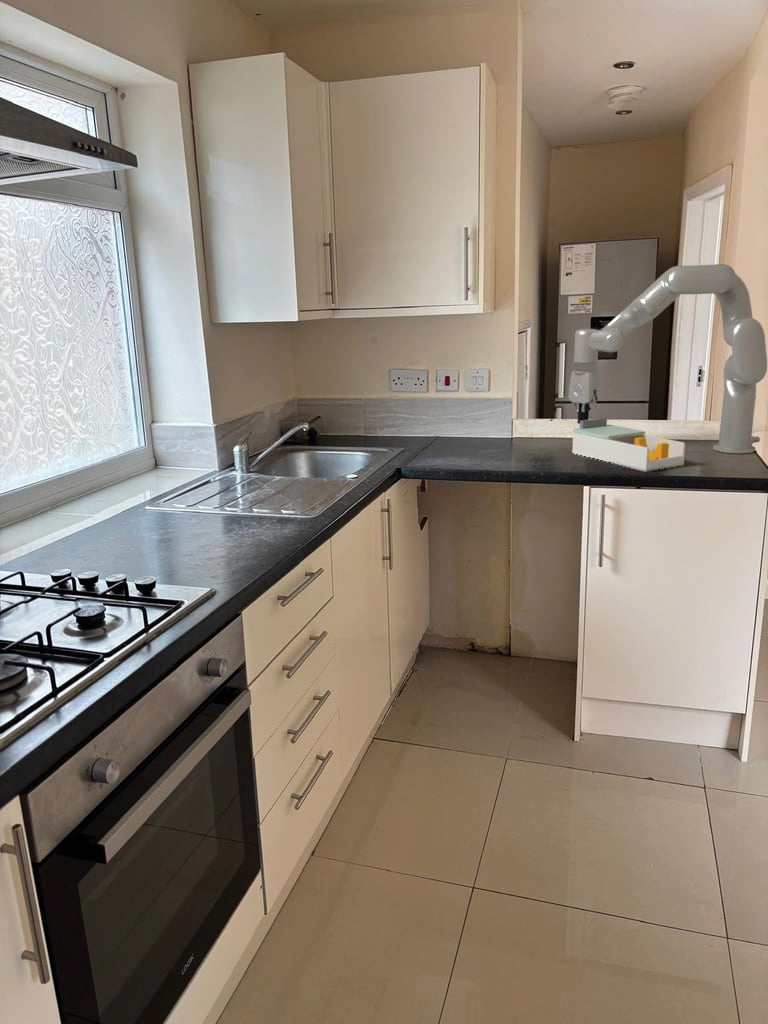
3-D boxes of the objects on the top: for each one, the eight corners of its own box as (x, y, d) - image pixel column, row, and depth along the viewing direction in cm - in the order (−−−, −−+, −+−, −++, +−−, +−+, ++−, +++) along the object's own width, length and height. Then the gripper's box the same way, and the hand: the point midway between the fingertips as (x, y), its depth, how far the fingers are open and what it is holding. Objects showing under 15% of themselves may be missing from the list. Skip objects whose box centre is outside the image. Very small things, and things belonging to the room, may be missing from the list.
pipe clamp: (629, 459, 242) (630, 438, 241) (640, 457, 244) (641, 437, 242) (655, 466, 232) (657, 444, 230) (667, 464, 233) (669, 443, 231)
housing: (607, 448, 262) (609, 427, 260) (683, 465, 234) (685, 442, 232) (572, 453, 256) (573, 432, 254) (645, 471, 228) (647, 448, 226)
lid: (609, 427, 260) (609, 417, 259) (645, 433, 246) (645, 423, 245) (573, 431, 254) (573, 421, 253) (608, 438, 240) (608, 428, 239)
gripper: (561, 366, 260) (559, 421, 265) (592, 370, 247) (589, 427, 252) (579, 365, 263) (576, 419, 268) (610, 368, 251) (607, 425, 255)
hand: (582, 423), depth 260 cm, fingers closed
